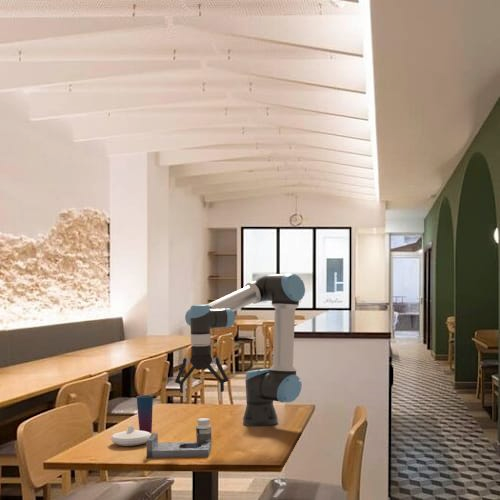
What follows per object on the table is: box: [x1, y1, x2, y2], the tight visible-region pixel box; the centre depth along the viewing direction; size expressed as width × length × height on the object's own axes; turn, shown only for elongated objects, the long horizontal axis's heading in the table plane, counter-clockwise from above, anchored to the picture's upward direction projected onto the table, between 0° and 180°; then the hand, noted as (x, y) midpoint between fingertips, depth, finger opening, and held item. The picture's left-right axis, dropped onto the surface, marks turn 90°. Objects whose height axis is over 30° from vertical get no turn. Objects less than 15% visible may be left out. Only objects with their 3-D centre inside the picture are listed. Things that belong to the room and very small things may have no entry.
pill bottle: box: [195, 417, 213, 445], centre depth 274 cm, size 6×6×10 cm
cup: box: [136, 394, 154, 434], centre depth 302 cm, size 7×7×15 cm
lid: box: [110, 424, 152, 447], centre depth 281 cm, size 16×16×7 cm
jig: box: [145, 432, 212, 459], centre depth 264 cm, size 22×13×6 cm, turn 89°
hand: (202, 401), depth 275 cm, fingers open, 13 cm apart
